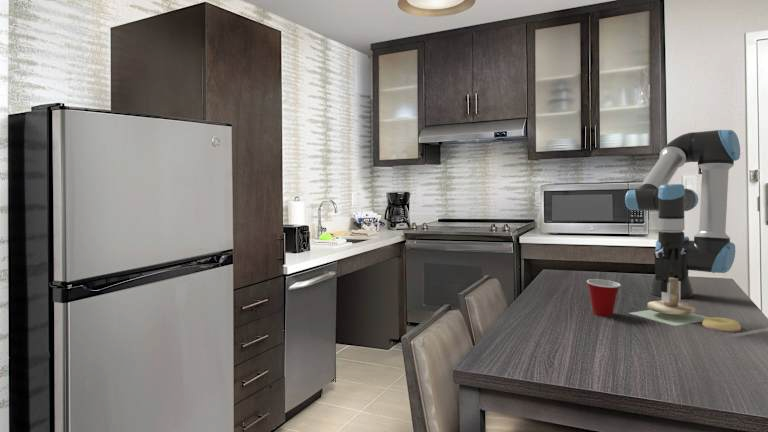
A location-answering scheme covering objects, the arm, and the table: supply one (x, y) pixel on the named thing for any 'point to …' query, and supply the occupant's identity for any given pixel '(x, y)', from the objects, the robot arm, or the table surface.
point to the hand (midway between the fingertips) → (670, 300)
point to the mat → (670, 317)
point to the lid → (672, 302)
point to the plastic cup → (603, 296)
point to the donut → (721, 324)
